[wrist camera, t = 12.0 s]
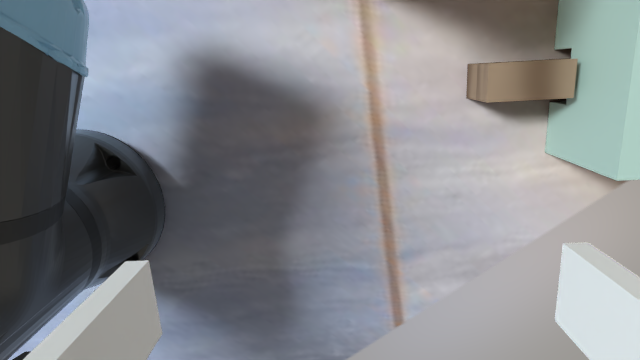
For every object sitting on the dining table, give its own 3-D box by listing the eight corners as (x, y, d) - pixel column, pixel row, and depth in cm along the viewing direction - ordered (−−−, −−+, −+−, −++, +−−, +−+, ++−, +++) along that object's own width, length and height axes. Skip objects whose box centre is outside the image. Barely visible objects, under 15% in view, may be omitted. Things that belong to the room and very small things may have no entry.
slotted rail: (466, 98, 37) (486, 102, 33) (467, 64, 37) (488, 63, 32) (668, 87, 37) (719, 90, 32) (674, 52, 36) (727, 50, 31)
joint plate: (575, 150, 39) (657, 178, 29) (545, 152, 39) (616, 180, 29) (592, -11, 35) (693, -40, 25) (559, -9, 35) (647, -37, 25)
